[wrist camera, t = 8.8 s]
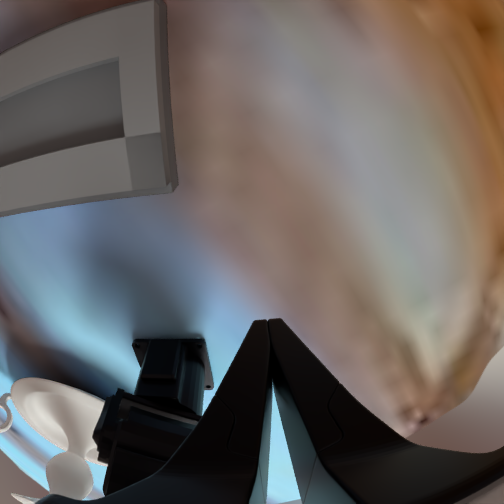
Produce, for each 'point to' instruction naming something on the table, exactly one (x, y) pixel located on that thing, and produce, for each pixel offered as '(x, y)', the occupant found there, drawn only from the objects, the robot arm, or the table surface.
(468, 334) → the table surface
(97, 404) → the candlestick
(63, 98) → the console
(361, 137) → the table surface
